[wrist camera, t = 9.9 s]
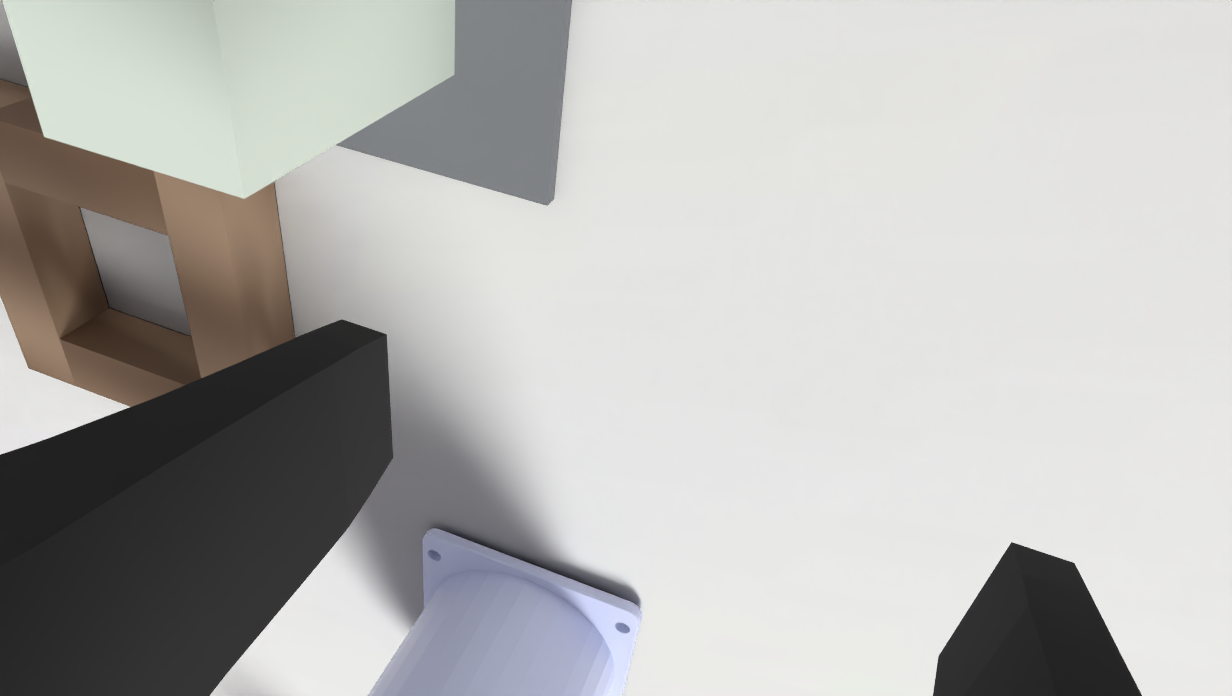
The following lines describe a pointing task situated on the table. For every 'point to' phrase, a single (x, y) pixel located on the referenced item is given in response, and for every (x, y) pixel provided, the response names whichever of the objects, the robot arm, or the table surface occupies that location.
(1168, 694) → the table surface
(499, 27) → the mat
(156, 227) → the frame
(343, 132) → the part block
